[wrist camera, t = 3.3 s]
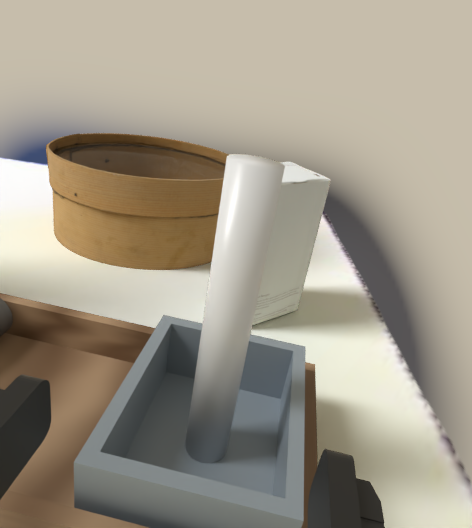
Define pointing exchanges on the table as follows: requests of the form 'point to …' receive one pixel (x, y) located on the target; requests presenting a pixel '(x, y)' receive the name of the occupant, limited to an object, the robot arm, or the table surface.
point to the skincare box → (291, 241)
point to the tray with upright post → (209, 397)
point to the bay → (81, 404)
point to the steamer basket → (136, 199)
